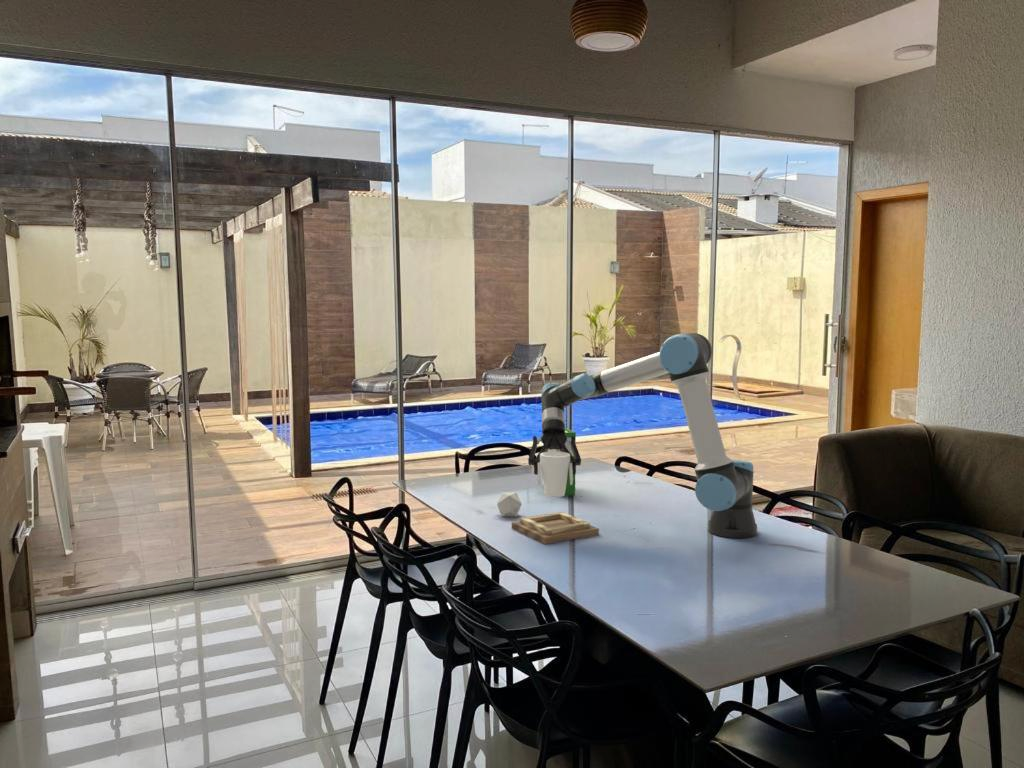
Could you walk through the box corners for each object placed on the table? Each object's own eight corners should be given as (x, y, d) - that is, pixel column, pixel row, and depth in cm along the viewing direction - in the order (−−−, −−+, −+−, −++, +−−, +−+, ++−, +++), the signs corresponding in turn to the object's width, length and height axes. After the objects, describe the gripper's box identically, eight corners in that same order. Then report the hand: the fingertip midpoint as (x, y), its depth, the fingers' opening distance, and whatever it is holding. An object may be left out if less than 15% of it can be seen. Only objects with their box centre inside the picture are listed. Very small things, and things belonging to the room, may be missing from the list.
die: (512, 522, 268) (527, 497, 270) (490, 508, 269) (505, 484, 271) (512, 524, 276) (526, 500, 278) (491, 511, 277) (505, 487, 279)
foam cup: (570, 491, 258) (570, 451, 256) (569, 498, 249) (569, 457, 247) (540, 491, 259) (540, 451, 257) (538, 497, 250) (539, 456, 248)
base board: (598, 534, 251) (598, 523, 251) (544, 544, 241) (544, 532, 241) (563, 519, 268) (563, 509, 268) (511, 528, 258) (511, 517, 258)
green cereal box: (543, 486, 319) (543, 426, 316) (560, 485, 320) (561, 425, 318) (556, 496, 302) (556, 433, 299) (575, 495, 303) (575, 432, 301)
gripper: (586, 431, 267) (589, 489, 253) (519, 431, 267) (519, 488, 253) (587, 417, 261) (591, 476, 247) (519, 417, 261) (519, 475, 247)
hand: (555, 482), depth 250 cm, fingers closed on foam cup, 9 cm apart
